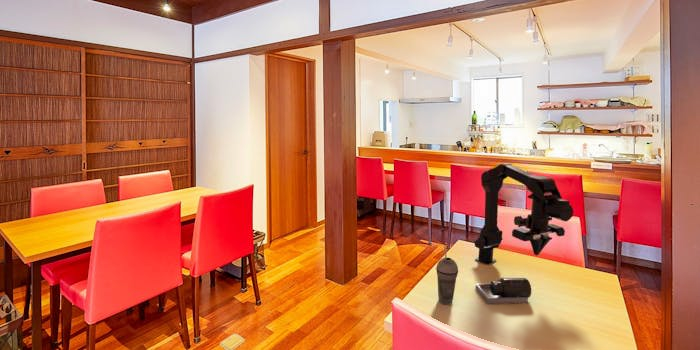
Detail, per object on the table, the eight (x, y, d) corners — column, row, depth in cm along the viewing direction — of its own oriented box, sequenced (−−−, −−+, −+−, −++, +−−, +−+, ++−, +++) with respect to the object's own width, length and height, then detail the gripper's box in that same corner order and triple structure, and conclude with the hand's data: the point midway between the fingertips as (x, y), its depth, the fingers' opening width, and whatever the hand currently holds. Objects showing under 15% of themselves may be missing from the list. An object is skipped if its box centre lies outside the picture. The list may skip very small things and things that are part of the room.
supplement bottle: (530, 302, 120) (495, 303, 120) (520, 289, 126) (487, 290, 126) (533, 285, 118) (497, 286, 118) (523, 273, 124) (489, 274, 124)
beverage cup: (453, 309, 116) (456, 251, 112) (431, 303, 120) (434, 247, 116) (459, 299, 122) (462, 244, 118) (438, 293, 126) (440, 240, 122)
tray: (511, 287, 130) (512, 282, 129) (527, 303, 120) (528, 297, 119) (475, 289, 129) (476, 283, 129) (488, 304, 119) (488, 298, 118)
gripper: (541, 205, 135) (538, 244, 138) (502, 209, 129) (499, 249, 132) (568, 213, 124) (563, 254, 127) (526, 218, 119) (522, 261, 121)
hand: (536, 254), depth 127 cm, fingers closed
